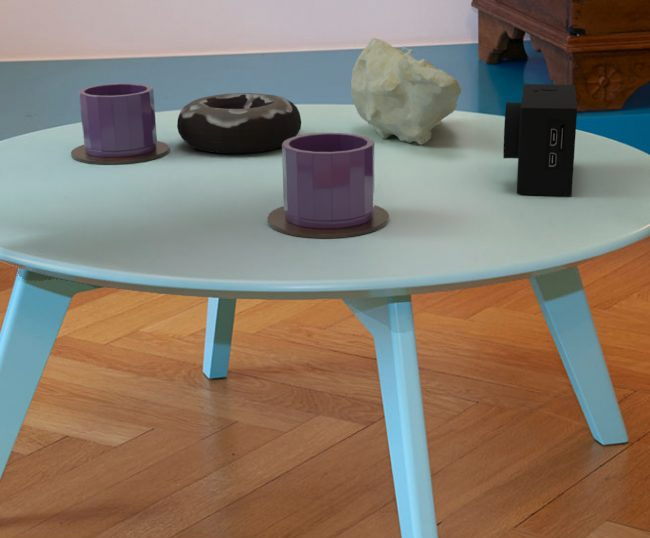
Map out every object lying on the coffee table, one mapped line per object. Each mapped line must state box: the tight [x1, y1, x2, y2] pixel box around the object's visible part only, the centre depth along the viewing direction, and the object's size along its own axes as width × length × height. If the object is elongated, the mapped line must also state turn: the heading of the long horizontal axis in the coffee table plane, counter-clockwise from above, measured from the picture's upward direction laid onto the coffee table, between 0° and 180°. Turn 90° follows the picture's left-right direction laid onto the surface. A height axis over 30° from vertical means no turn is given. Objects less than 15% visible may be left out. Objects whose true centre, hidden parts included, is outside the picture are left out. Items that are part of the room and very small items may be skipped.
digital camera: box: [502, 83, 578, 197], centre depth 93 cm, size 10×5×7 cm, turn 169°
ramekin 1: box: [78, 82, 158, 158], centre depth 104 cm, size 7×7×6 cm
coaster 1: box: [70, 140, 170, 165], centre depth 105 cm, size 9×9×1 cm
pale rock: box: [350, 37, 462, 145], centre depth 106 cm, size 18×10×7 cm
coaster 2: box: [267, 204, 390, 239], centre depth 84 cm, size 9×9×1 cm
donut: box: [176, 92, 302, 154], centre depth 107 cm, size 12×12×4 cm
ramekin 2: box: [281, 132, 375, 229], centre depth 83 cm, size 7×7×6 cm
